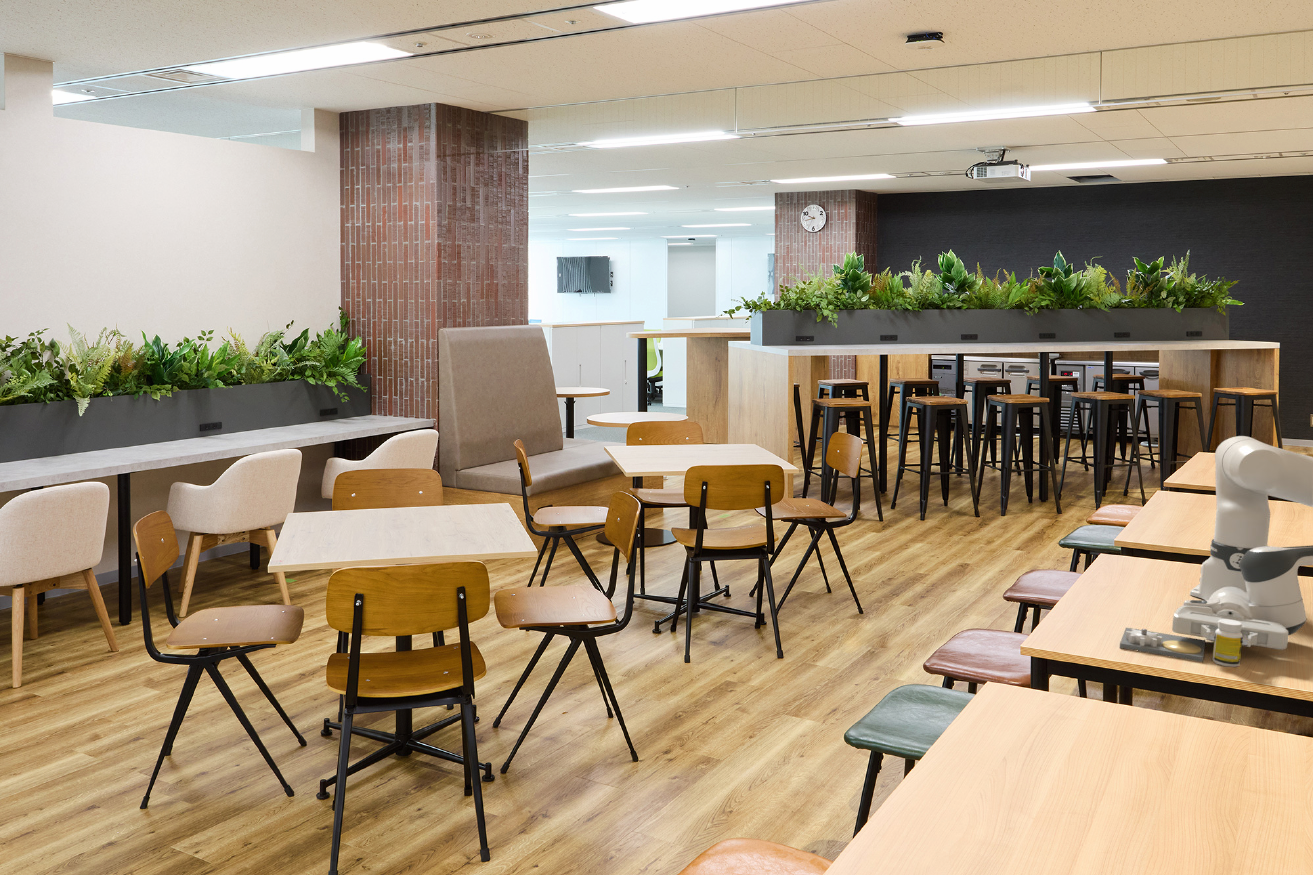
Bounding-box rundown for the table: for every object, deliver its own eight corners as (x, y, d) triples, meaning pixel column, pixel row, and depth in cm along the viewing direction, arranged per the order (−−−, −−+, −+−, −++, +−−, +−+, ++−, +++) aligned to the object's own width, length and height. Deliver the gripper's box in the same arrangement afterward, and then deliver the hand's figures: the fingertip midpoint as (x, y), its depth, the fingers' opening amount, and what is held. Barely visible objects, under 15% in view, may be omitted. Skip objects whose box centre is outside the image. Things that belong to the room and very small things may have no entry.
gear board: (1125, 631, 218) (1127, 616, 217) (1204, 644, 211) (1206, 628, 210) (1119, 647, 208) (1121, 631, 207) (1202, 662, 200) (1204, 645, 200)
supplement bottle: (1243, 668, 197) (1247, 626, 196) (1217, 666, 198) (1221, 624, 197) (1234, 660, 202) (1238, 619, 201) (1208, 657, 203) (1212, 617, 202)
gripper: (1286, 645, 206) (1289, 665, 194) (1173, 627, 216) (1169, 645, 204) (1289, 614, 205) (1292, 633, 193) (1176, 598, 215) (1172, 615, 203)
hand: (1228, 639), depth 199 cm, fingers closed on supplement bottle, 5 cm apart
